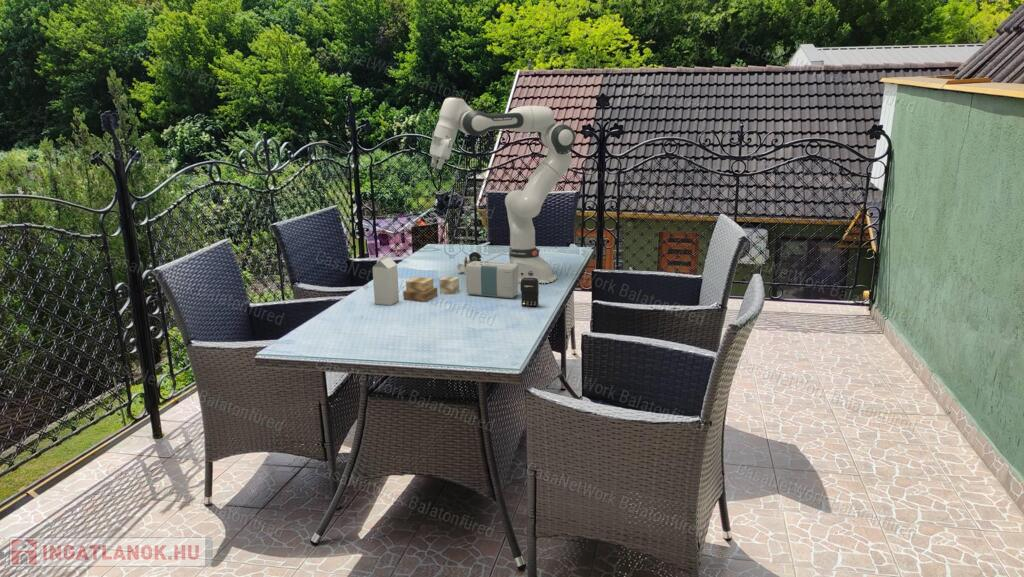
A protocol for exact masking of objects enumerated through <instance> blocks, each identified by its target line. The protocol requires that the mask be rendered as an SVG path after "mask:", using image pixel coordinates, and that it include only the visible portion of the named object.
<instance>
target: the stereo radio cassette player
mask: <svg viewBox="0 0 1024 577" xmlns="http://www.w3.org/2000/svg"><path fill="white" fill-rule="evenodd" d="M513 249H515V248H513ZM511 250H512V249H511ZM509 251H510V250H506V251H504V252H502V253H500V254H497V255H496V256H493V257H491V258H489V259H487V260H485V261H482V260H481V261H473V262H470V263H469V264H467V265H466V274H465V286H466V287H465V288H466V290H465V291H466V293H467V294H468V295H470V296H483V297H484V296H485V297H493V298H495V297H496V298H505V299H506V298H507V299H511V298H512V299H514V297H515V296H517V295H518V293H519V283H518V264H510V262H509V263H507V262H506V263H505V262H492V260H494V259H496V258H497V257H500V256H502V255H504V254H506V253H508V252H509Z"/></svg>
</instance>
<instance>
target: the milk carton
mask: <svg viewBox="0 0 1024 577" xmlns="http://www.w3.org/2000/svg"><path fill="white" fill-rule="evenodd" d="M398 274H399V273H398V264H397V263H396V262H395V260H393V259H392V258H391V257H390V254H389V253H387V254H385V255H383V256H380V257H379V259H377V260H376V263H375V264H374V265H373V266H372V282H373V283H372V284H373V294H374V296H373V297H374V305H384V306H392V305H395V304H396V303H397V302H399V301H400V294H399V293H400V291H399V277H398Z"/></svg>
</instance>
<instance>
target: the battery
mask: <svg viewBox="0 0 1024 577" xmlns="http://www.w3.org/2000/svg"><path fill="white" fill-rule="evenodd" d="M519 287H520V292H521V293H520V294H521V306H522V307H526V306H537V307H538V306H539V305H540V304H539V303H540V302H539V301H540V300H539V298H540V284H539V280H538V278H536V277H523V278H522V280H521V283H520V286H519Z"/></svg>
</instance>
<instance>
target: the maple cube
mask: <svg viewBox="0 0 1024 577" xmlns="http://www.w3.org/2000/svg"><path fill="white" fill-rule="evenodd" d="M438 282H439V294H441V293H443V295H451V294H453V295H455V294H457V293H459V292H460V278H459V277H458V276H457V277H456V276H447V275H446V276H443V277H442V278H439V281H438ZM458 291H459V292H458ZM456 292H457V293H456ZM454 293H455V294H454Z"/></svg>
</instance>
